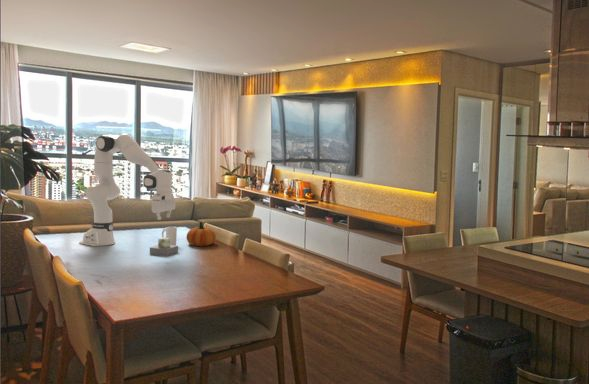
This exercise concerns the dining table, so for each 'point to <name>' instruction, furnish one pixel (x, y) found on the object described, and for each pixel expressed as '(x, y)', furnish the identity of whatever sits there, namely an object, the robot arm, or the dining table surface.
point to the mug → (170, 234)
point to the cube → (164, 242)
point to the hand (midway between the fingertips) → (163, 218)
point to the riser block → (164, 250)
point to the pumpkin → (201, 236)
